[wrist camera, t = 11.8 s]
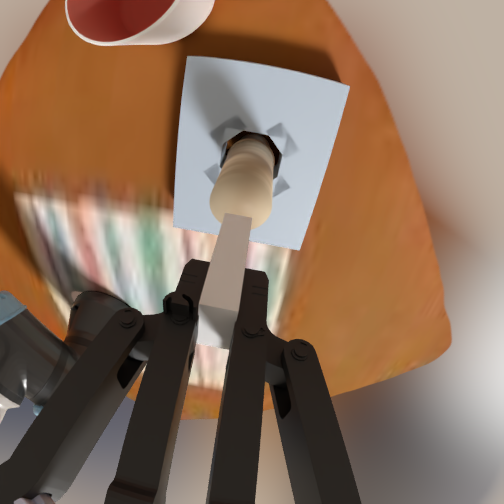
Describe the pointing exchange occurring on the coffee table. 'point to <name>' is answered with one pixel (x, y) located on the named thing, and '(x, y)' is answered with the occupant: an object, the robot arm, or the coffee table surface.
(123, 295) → the coffee table surface
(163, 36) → the cup
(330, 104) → the board
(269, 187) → the peg
